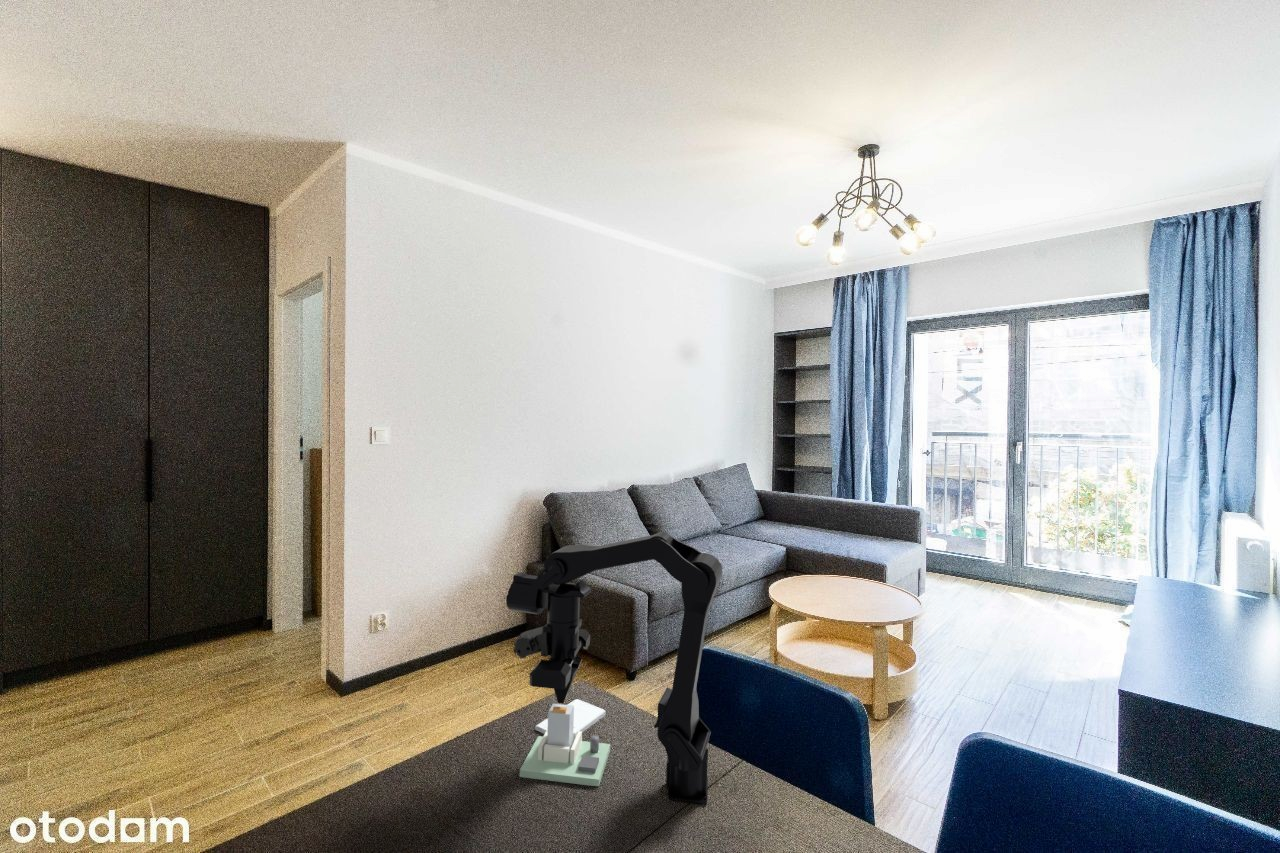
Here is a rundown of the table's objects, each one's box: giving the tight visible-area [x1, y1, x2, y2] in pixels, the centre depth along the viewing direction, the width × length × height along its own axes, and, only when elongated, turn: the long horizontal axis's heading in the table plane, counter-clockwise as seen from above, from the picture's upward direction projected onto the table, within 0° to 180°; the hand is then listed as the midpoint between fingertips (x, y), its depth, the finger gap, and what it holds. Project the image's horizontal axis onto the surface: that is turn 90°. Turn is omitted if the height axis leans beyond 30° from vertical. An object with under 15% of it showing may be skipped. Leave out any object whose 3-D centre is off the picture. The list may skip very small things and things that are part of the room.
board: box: [519, 729, 611, 787], centre depth 97 cm, size 14×10×4 cm
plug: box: [547, 703, 574, 757], centre depth 98 cm, size 4×3×9 cm
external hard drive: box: [534, 698, 607, 735], centre depth 110 cm, size 2×8×12 cm
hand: (561, 702), depth 98 cm, fingers closed
